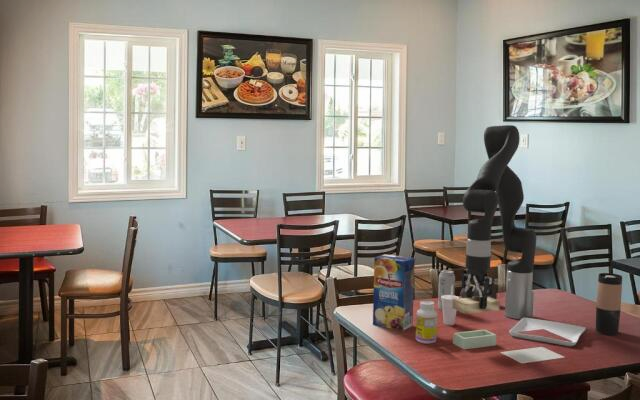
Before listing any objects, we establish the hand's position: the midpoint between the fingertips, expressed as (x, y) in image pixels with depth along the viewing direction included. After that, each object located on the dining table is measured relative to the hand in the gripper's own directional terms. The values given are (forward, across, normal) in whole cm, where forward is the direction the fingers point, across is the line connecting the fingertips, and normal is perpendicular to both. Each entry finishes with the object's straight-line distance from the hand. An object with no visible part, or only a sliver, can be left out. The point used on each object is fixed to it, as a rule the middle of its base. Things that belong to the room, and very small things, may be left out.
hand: (475, 305), depth 201 cm
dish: (+14, 0, 0) cm, 14 cm away
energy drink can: (+14, +41, -16) cm, 46 cm away
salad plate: (+14, +1, -30) cm, 33 cm away
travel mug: (+14, -1, -54) cm, 56 cm away
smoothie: (+14, +25, -7) cm, 29 cm away
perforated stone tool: (+14, +46, -34) cm, 59 cm away
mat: (+14, -14, -11) cm, 22 cm away
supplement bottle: (+14, +11, +11) cm, 21 cm away
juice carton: (+14, +30, +13) cm, 36 cm away
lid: (+1, 0, 0) cm, 1 cm away
